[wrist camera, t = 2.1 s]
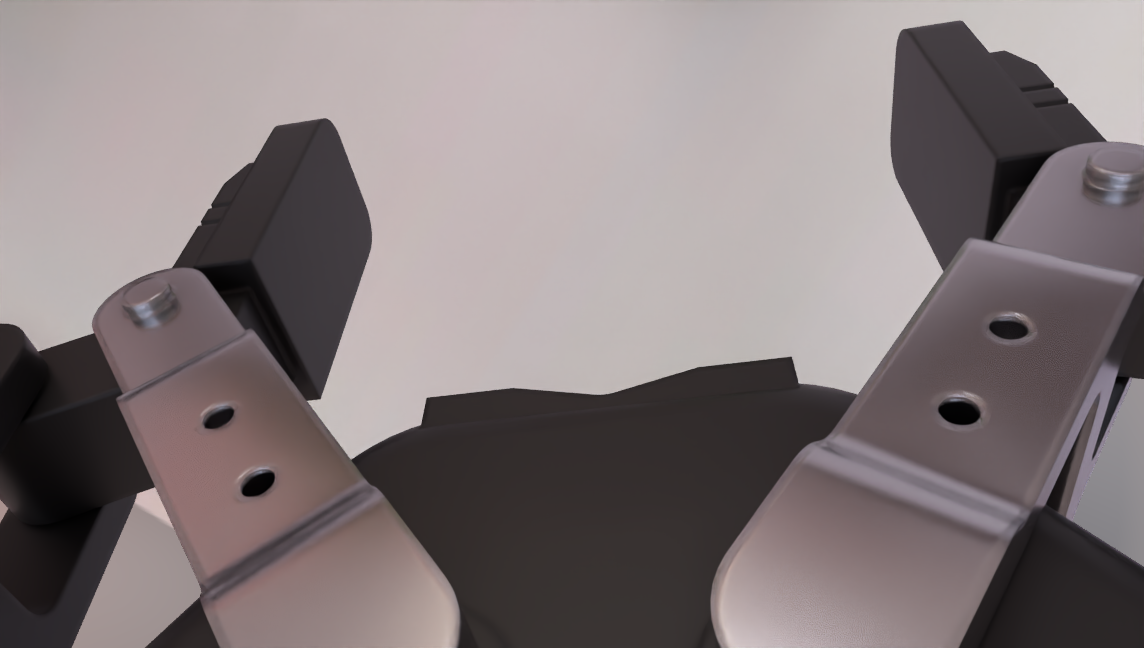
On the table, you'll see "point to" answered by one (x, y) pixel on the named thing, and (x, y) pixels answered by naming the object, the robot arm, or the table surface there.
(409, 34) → the table surface
